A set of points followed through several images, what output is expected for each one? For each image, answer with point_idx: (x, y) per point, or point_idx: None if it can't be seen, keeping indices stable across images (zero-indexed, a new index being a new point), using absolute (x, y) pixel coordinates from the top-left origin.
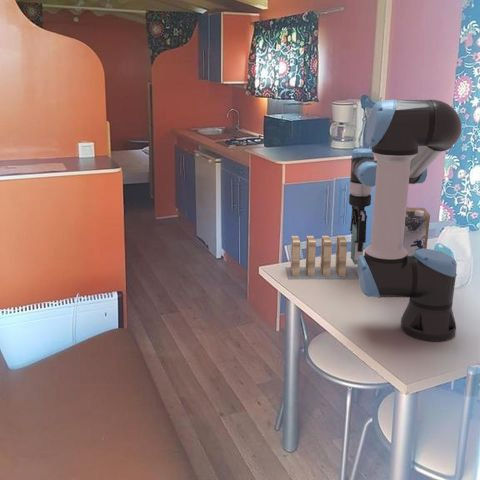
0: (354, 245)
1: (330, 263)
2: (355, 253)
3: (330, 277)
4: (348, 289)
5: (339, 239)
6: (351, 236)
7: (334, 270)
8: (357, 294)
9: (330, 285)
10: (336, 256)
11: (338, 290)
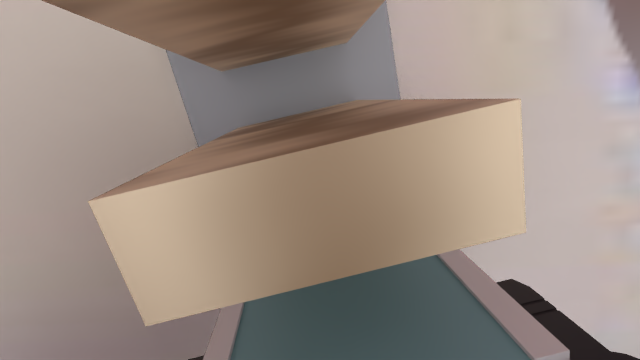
0: (299, 344)
1: (192, 59)
2: (219, 314)
3: (203, 76)
4: (67, 193)
5: (264, 168)
6: (532, 340)
7: (334, 96)
8: (14, 243)
9: (87, 84)
10: (357, 105)
11: (25, 138)
